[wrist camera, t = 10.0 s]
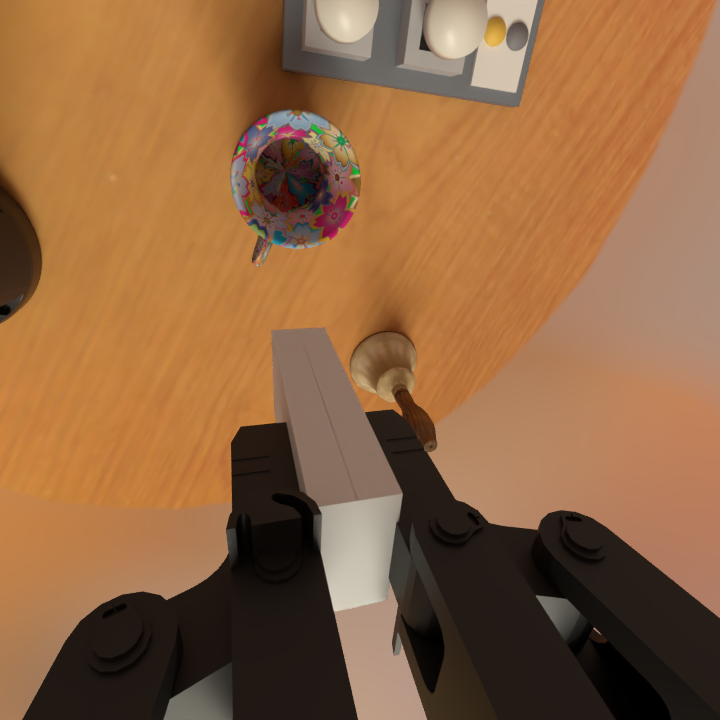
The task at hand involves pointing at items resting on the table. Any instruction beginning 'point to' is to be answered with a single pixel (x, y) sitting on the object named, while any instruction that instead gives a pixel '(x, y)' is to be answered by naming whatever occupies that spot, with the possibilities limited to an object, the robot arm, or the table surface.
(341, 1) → the button
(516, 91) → the board
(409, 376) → the hand bell
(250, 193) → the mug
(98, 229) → the table surface
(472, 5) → the button
